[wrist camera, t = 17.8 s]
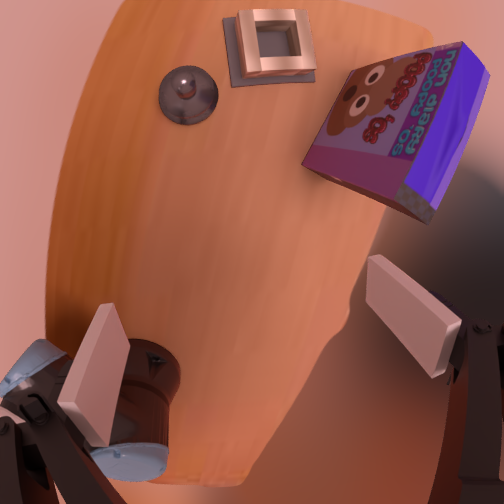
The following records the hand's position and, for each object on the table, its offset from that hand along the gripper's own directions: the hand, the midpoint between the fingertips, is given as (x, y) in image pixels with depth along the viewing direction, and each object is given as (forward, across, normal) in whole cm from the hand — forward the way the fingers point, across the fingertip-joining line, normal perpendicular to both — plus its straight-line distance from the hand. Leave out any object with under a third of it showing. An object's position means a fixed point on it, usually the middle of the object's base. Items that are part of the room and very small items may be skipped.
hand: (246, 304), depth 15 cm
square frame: (+30, +10, +20) cm, 37 cm away
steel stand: (+31, -2, +14) cm, 34 cm away
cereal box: (+31, +20, +8) cm, 37 cm away
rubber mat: (+31, +10, +20) cm, 38 cm away
